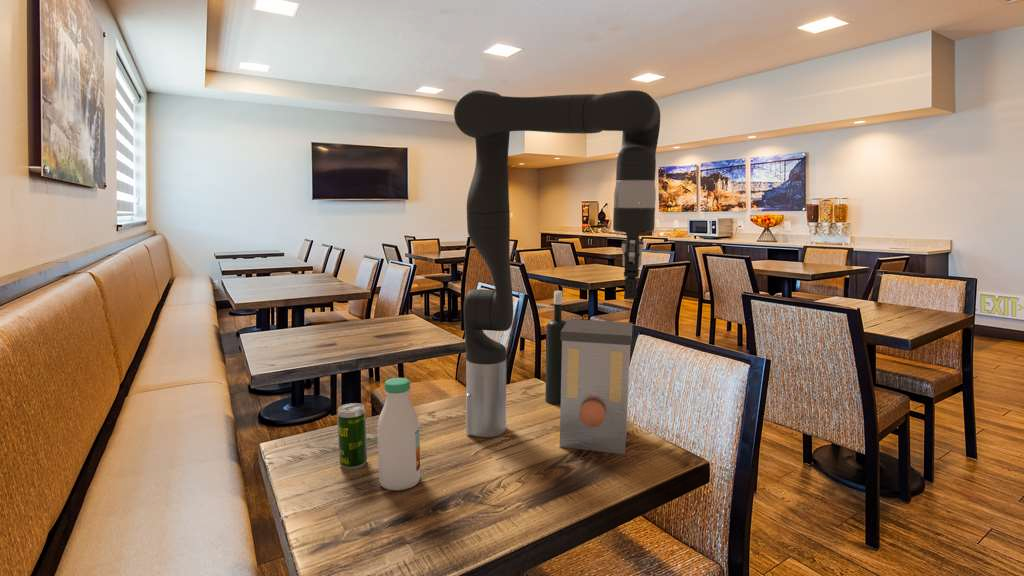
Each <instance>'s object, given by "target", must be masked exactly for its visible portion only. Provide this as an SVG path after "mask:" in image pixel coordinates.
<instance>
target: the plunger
mask: <svg viewBox="0 0 1024 576" xmlns="http://www.w3.org/2000/svg"><path fill="white" fill-rule="evenodd" d="M579 415H580V419H581V421H582V422H583V423H584V424H585V425H587V426H589V427H597V426H599V425H601V424H602V422H603V421H604V417H605V409H604V407H603V405H602V404H601V403H600V402H598V401H596V400H588V401H586V402H585V403H583V405H582V406H581V409H580V414H579Z"/></svg>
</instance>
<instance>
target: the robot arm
mask: <svg viewBox="0 0 1024 576" xmlns="http://www.w3.org/2000/svg"><path fill="white" fill-rule="evenodd" d="M453 117H454V122H455V124H456V126H457V128H458V129H459V131H461V132H462V134H464V135H466V136H468V137H471V138H473V139H475V151H476V152H475V155H476V156H475V157H476V158H475V167H474V172H473V176H472V180H471V181H470V186H469V189H468V190H469V191H468V193H467V200H466V225H467V227H466V228H467V230H466V231H467V233H468V237H469V239H470V241H471V243H472V244H473V246H474V247H475V249H476V250H477V252H478V253H479V255H480V256H481V258H482V259H483V261H484V262H485V264H486V265H487V267H488V269H489V271H490V274H491V277H492V279H493V284H494V285H493V286H494V289H480V288H479V289H478V288H477V289H476V288H475V289H469V290H468V292H466V294H465V297H464V301H463V325H464V347H465V353H466V354H465V357H466V359H465V360H466V361H465V364H466V365H465V366H466V370H465V371H466V373H465V375H466V376H465V377H466V379H465V381H466V385H465V386H466V387H465V421H466V422H465V426H466V428H465V429H466V436H473V437H477V438H493V437H498V436H500V435H502V434H504V433H505V432H506V429H507V349H506V347H505V345H504V344H502V343H501V342H499V341H497V340H493V339H492V338H490V337H489V336H487V334H486V333H485V332H484V331H493V332H505V331H508V330H510V328H511V327H512V324H513V320H514V299H513V298H514V297H513V288H512V287H513V286H512V273H511V264H510V263H511V259H510V258H511V257H510V253H511V249H510V248H511V247H510V246H511V245H510V242H511V241H510V240H511V239H510V238H511V237H510V235H511V234H510V233H511V232H510V231H511V230H510V229H511V228H510V227H511V225H510V224H511V223H510V222H511V221H510V220H511V219H510V213H511V212H510V197H509V195H510V194H509V193H510V192H509V188H510V187H509V184H510V182H509V147H510V134H511V133H510V132H539V133H542V132H543V133H555V134H584V135H585V134H587V135H588V134H598V133H600V132H602V131H603V132H604V131H607V132H613V131H614V132H622V137H621V149H620V151H618V154H617V158H616V171H615V186H614V192H613V193H614V194H613V217H612V230H613V231H614V232H618V233H625V234H626V240H622V242H621V252H622V263H621V265H622V267H624V272H623V278H624V298H625V299H627V300H629V299H630V300H634V299H635V300H636V298H637V292H638V279H639V275H640V273H639V272H640V269H639V268H640V267H641V266H642V254H643V252H644V241H641V240H640V235H641V233H652V232H653V231H654V230H655V223H656V222H655V218H656V217H655V215H656V201H657V199H656V197H657V195H656V194H657V193H656V167H657V164H656V162H657V160H656V159H657V158H656V155H657V154H656V153H657V148H658V147H657V146H658V143H659V142H658V141H659V136H660V135H659V134H660V128H661V109H660V106H659V104H658V103H657V101H656V100H655V99H654V98H653V97H652V96H651V95H650V94H649V93H647V92H646V91H642V90H636V89H634V90H633V89H632V90H631V89H628V90H620V91H613V92H612V91H611V92H606V93H602V94H594V93H592V94H591V93H590V94H589V93H586V94H585V93H583V94H582V93H581V94H578V93H577V94H561V95H560V94H559V95H558V94H557V95H541V96H529V97H528V96H506V95H505V96H504V95H501V94H500V93H498V92H493V91H487V90H483V89H482V90H481V89H476V90H471V91H468V92H466V93H464V94H463V95H461V96H460V97H459V99H458V100H457V102H456V104H455V106H454V109H453Z"/></svg>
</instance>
